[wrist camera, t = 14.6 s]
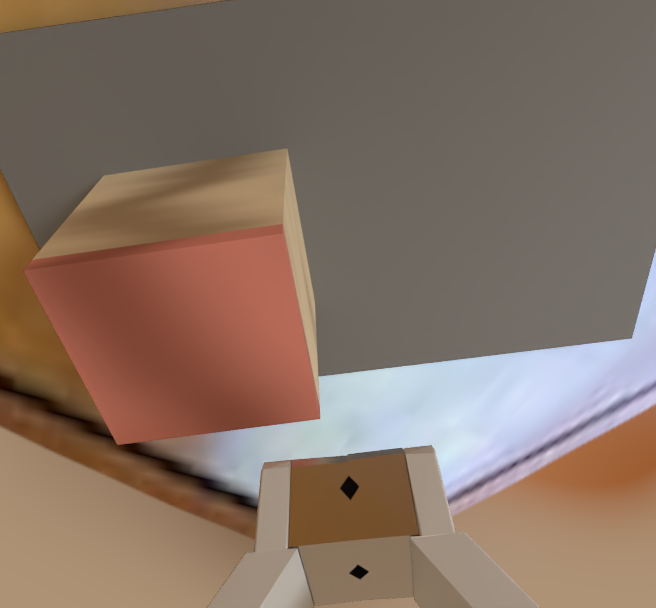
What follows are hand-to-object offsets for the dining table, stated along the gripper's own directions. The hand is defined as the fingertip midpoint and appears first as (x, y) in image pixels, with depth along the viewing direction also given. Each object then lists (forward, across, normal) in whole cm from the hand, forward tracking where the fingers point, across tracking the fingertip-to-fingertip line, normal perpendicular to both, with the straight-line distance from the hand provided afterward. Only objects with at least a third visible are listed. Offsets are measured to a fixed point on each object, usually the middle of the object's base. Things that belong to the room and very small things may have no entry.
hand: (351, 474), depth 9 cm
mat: (+11, -1, 0) cm, 11 cm away
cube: (+4, +4, 0) cm, 6 cm away
